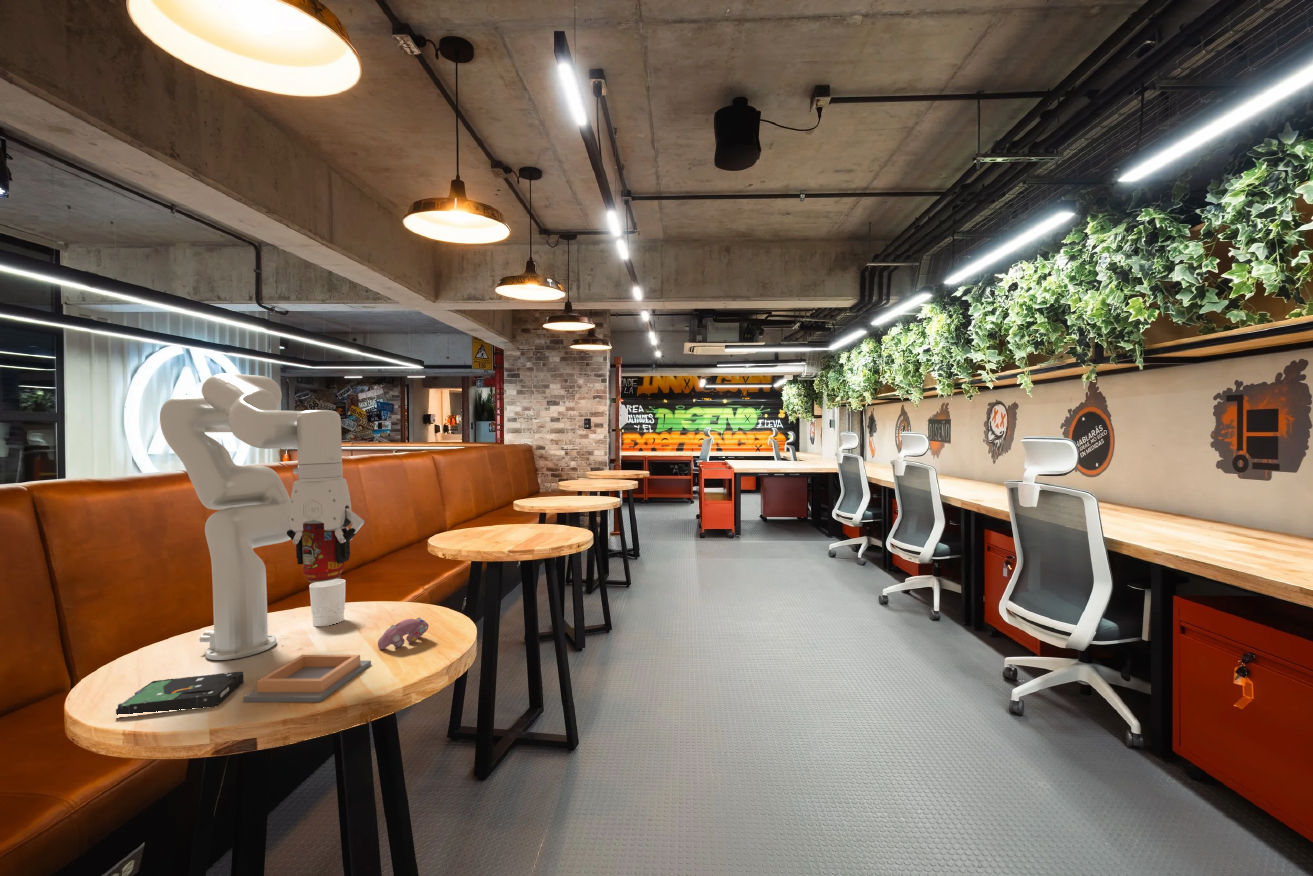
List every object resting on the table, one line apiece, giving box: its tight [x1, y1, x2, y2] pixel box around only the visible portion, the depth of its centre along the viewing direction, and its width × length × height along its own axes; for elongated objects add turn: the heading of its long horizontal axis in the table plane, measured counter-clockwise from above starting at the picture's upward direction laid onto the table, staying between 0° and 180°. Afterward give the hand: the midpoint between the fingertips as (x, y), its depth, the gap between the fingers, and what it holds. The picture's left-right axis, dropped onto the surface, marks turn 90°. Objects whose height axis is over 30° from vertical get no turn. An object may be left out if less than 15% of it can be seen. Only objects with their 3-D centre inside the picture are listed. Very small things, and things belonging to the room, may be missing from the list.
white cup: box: [308, 578, 346, 628], centre depth 142 cm, size 8×8×10 cm
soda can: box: [302, 520, 345, 583], centre depth 111 cm, size 7×7×12 cm
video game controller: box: [377, 617, 430, 650], centre depth 125 cm, size 10×5×7 cm, turn 144°
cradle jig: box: [242, 654, 372, 703], centre depth 107 cm, size 14×16×3 cm
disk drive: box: [115, 671, 245, 715], centre depth 101 cm, size 10×3×15 cm
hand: (323, 561), depth 111 cm, fingers closed on soda can, 7 cm apart
